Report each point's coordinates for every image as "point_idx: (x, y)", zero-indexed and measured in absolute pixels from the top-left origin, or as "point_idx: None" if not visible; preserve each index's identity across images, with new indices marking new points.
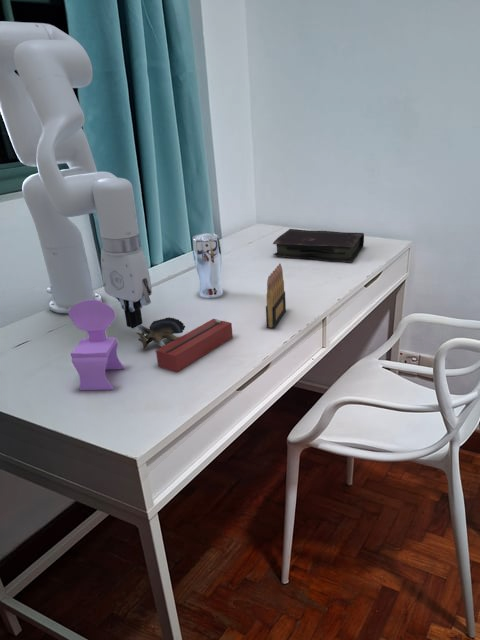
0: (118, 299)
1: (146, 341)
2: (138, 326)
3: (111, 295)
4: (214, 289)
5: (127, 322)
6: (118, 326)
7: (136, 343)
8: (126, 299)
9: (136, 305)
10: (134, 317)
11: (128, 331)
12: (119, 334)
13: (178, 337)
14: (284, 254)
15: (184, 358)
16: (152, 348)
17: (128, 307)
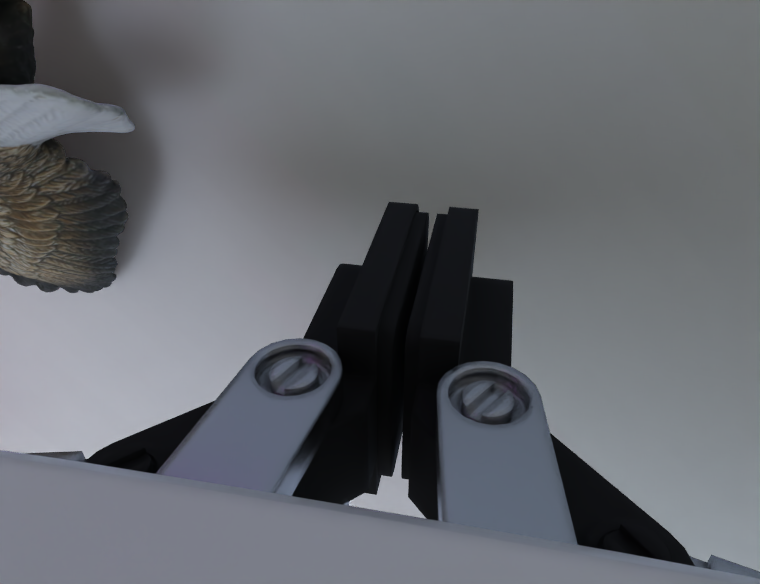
0: (634, 536)
1: (9, 16)
2: (8, 86)
3: (713, 580)
4: None
5: (447, 232)
6: (756, 294)
7: (274, 52)
8: (49, 470)
9: (175, 445)
10: (338, 307)
11: (567, 242)
12: (617, 149)
13: (49, 287)
14: None
15: None
16: (48, 35)
17: (413, 416)
